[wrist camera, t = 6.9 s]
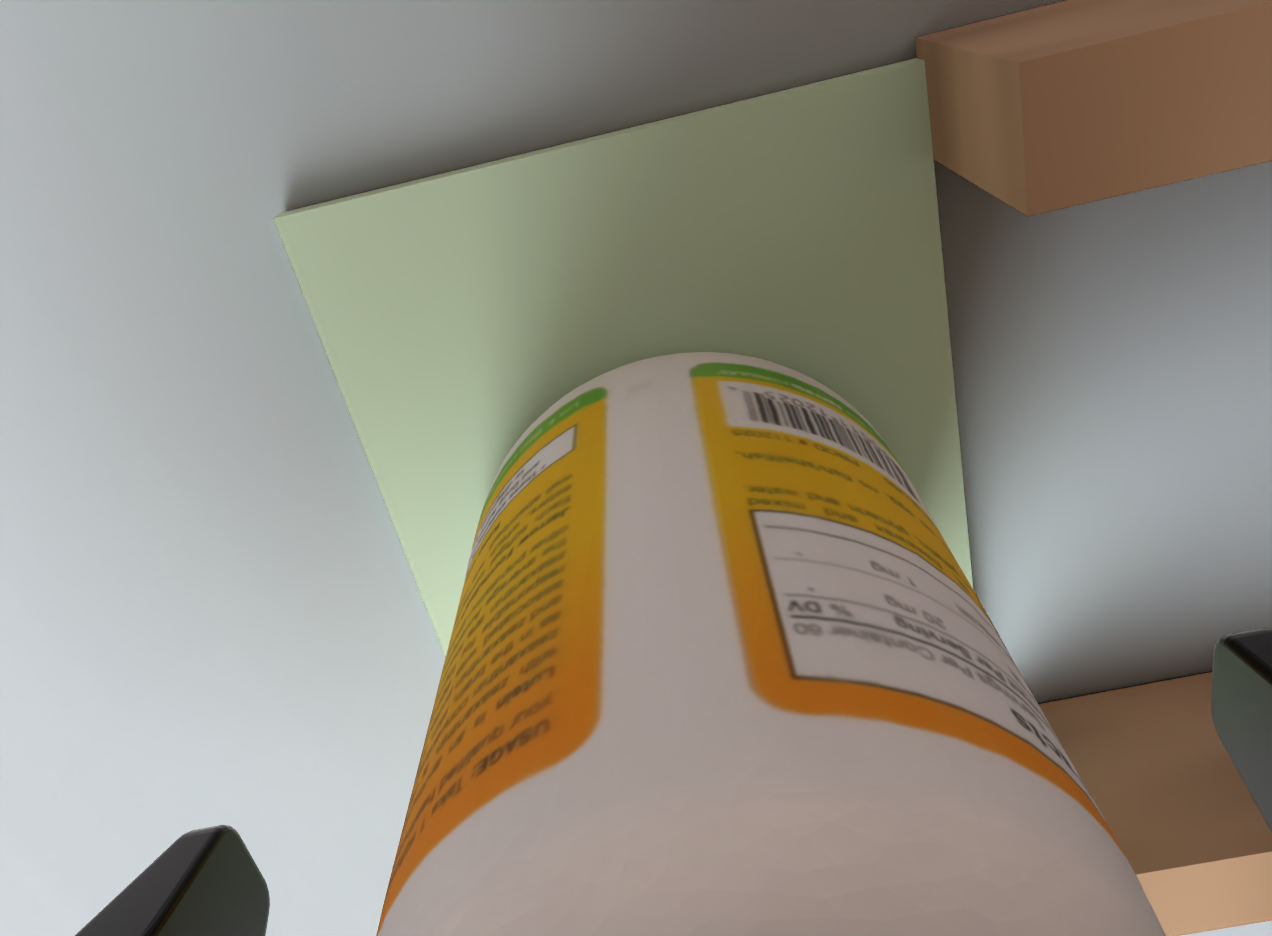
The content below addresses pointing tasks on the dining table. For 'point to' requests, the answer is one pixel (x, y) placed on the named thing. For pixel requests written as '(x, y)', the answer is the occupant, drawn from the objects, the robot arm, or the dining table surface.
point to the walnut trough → (1081, 173)
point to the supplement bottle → (735, 694)
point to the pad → (638, 291)
